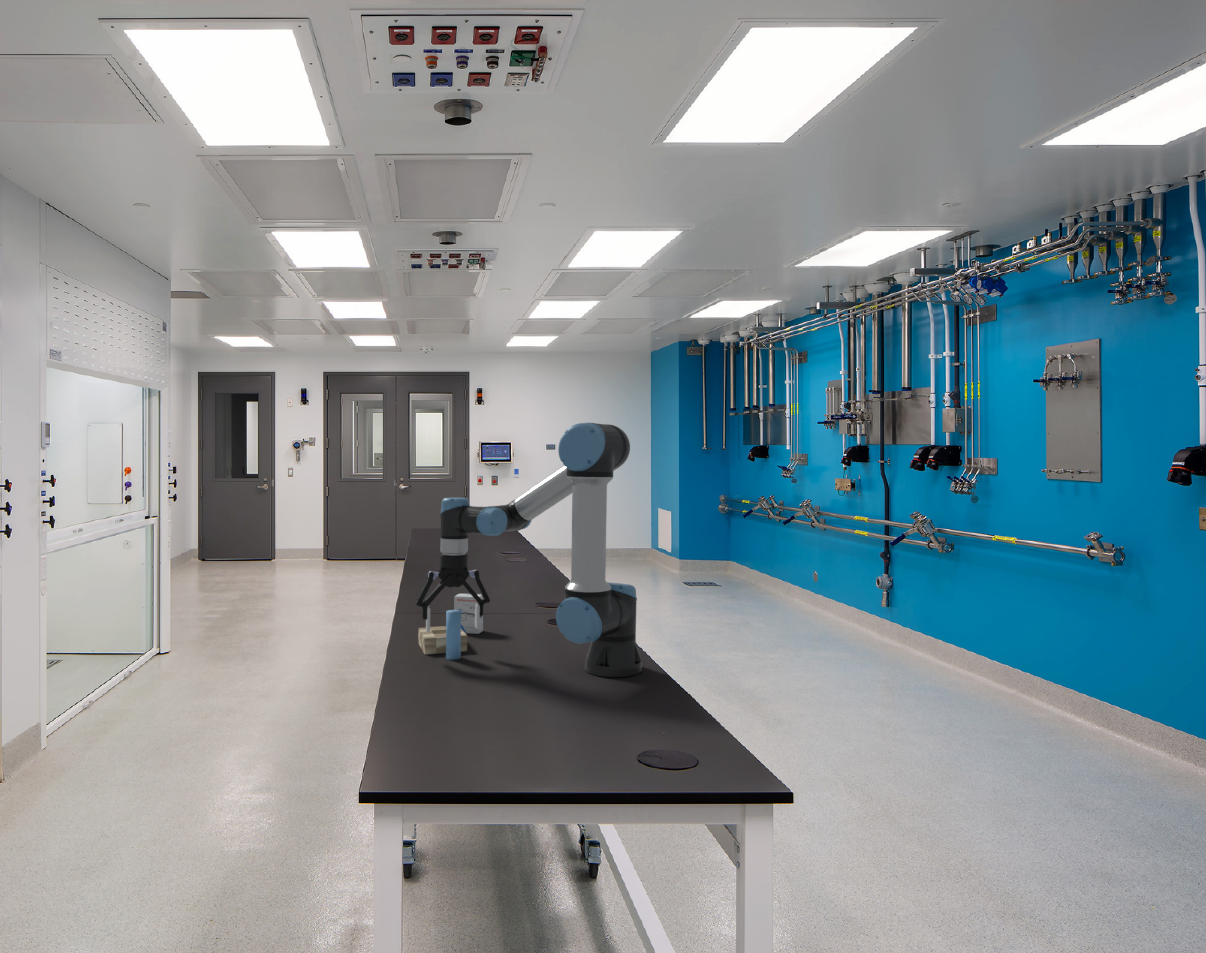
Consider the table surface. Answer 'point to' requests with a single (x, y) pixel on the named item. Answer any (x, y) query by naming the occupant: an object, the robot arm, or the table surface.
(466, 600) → the ink box
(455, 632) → the peg
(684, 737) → the table surface
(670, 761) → the table surface
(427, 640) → the socket block
